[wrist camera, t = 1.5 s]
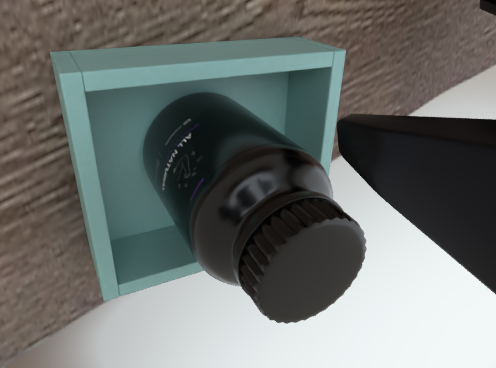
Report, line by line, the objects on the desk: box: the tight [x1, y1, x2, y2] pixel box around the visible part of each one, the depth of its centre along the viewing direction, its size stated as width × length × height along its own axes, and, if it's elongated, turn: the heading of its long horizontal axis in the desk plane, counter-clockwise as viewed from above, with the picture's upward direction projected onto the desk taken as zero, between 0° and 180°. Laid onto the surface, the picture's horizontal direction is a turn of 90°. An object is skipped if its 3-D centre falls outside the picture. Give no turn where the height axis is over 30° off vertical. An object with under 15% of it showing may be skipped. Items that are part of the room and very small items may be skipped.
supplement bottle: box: [143, 92, 366, 323], centre depth 19 cm, size 7×7×12 cm
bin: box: [50, 37, 346, 301], centre depth 22 cm, size 14×12×4 cm
